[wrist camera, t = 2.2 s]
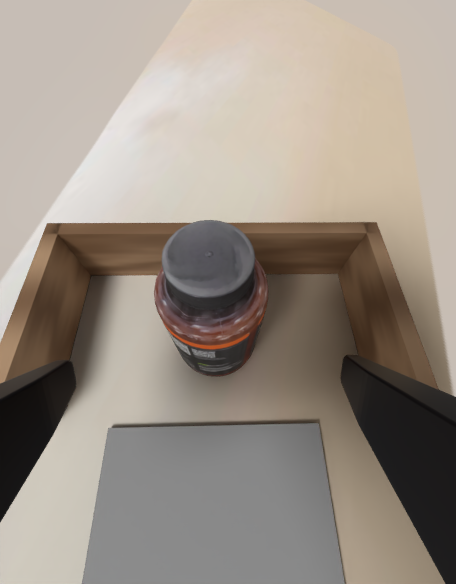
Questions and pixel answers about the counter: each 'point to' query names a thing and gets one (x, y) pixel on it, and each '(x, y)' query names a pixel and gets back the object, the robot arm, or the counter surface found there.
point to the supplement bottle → (211, 296)
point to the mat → (214, 507)
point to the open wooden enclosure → (268, 252)
